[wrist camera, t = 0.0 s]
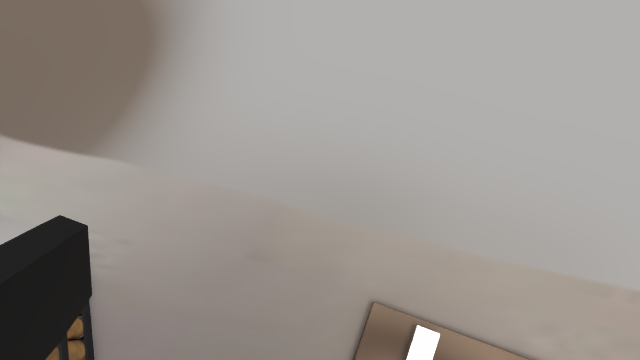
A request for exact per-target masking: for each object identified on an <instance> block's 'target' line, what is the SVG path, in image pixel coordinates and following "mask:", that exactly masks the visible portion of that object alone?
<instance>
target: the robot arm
mask: <svg viewBox="0 0 640 360" xmlns="http://www.w3.org/2000/svg"><path fill="white" fill-rule="evenodd" d="M91 296H92V287H91V271H90V255H89V239H88V226H87V225H85V224H82V223H79V222H77V221H74V220H71V219H69V218H66V217H63V216H61V215H59V216H57V217H55V218H53V219H51V220H49V221H47V222H45V223H43V224H41V225H39V226H37V227H35V228H33V229H31V230H29V231H27V232H25V233H23V234H21V235H19V236H17V237H15V238H13V239H11V240H9V241H7V242H5V243H4V244H2V245H0V360H46V358H47V357H48V356H49V355H50V354H51V353H52V351H53V350H54V349H55V348H56V347H57V345H58V344H59V343H60V342H61V340H62V339H63V338H64V336H65V335H66V333H67V332H68V331H69V329H70V328H71V326H72V325H73V323H74V322H75V320H76V319H77V317H78V316H79V314H80V313H81V311H82V310H83V308H84V306H85V305H86V303H87V302H88V300H89V299H90V297H91Z"/></svg>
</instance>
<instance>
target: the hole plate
mask: <svg viewBox="0 0 640 360" xmlns="http://www.w3.org/2000/svg"><path fill="white" fill-rule="evenodd" d="M415 325H417V326H420V327H423V328H426V329H428V330H431V331H434V332H436V333H439V334H440V336H439V339H438V342H437V346H436V349H435V352H434V355H433V359H432V360H528V359H526V358H523V357H520V356H518V355H515V354H512V353H510V352H507V351H504V350H501V349H499V348H496V347H493V346H491V345H488V344H485V343H483V342H480V341H477V340H474V339H472V338H469V337H466V336H464V335H461V334H458V333H456V332H453V331H450V330H447V329H445V328H442V327H439V326H437V325H434V324H431V323H428V322H426V321H423V320H420V319H418V318H415V317H412V316H410V315H407V314H404V313H401V312H399V311H396V310H393V309H391V308H388V307H385V306H383V305H380V304H377V303H373V304H372V307H371V310H370V313H369V316H368V319H367V322H366V325H365V328H364V331H363V334H362V337H361V340H360V342H359V345H358V348H357V351H356V354H355V357H354V360H404V357H405V354H406V351H407V348H408V345H409V342H410V338H411V335H412V332H413V329H414V326H415Z"/></svg>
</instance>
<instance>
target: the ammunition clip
mask: <svg viewBox="0 0 640 360" xmlns="http://www.w3.org/2000/svg"><path fill="white" fill-rule="evenodd" d="M46 360H94V350H93V339H92V327H91V316H90V305H89V300H88V302H87V303H86V305H85V306H84V308H83V310H82V311H81V313H80V314H79V316H78V317H77V319H76V320H75V322H74V323H73V325H72V326H71V328H70V329H69V331H68V332H67V333H66V335H65V336H64V338H63V339H62V340H61V342H60V343H59V344H58V345H57V347H56V348H55V349H54V350H53V351H52V353H51V354H50V355H49V356H48V357H47V358H46Z"/></svg>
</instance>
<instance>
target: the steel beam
mask: <svg viewBox="0 0 640 360" xmlns="http://www.w3.org/2000/svg"><path fill="white" fill-rule="evenodd" d="M439 336H440V334H439V333H436V332H434V331H431V330H428V329H426V328H423V327H420V326H417V325H415V326H414V329H413V332H412V335H411V338H410V342H409V345H408V348H407V351H406V354H405V357H404V360H432V359H433V355H434V352H435V349H436V346H437V342H438V339H439Z"/></svg>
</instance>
